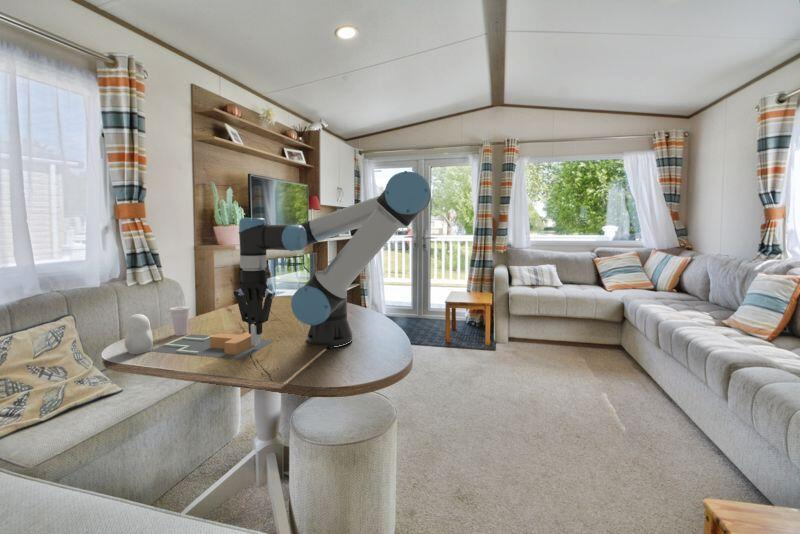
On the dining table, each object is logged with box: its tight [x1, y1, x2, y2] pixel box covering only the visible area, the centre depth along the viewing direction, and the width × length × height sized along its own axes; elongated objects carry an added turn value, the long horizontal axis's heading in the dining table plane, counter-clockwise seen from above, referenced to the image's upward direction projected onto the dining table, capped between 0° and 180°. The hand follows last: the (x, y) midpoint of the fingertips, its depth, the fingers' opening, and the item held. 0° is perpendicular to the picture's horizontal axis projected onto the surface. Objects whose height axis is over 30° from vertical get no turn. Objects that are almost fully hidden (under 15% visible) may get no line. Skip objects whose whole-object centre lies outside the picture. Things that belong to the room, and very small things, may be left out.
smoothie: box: [168, 295, 191, 337], centre depth 135 cm, size 6×6×14 cm
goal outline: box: [163, 334, 214, 354], centre depth 123 cm, size 15×16×1 cm
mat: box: [147, 333, 276, 360], centre depth 121 cm, size 32×18×1 cm, turn 79°
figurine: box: [124, 313, 154, 355], centre depth 118 cm, size 7×8×12 cm
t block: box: [210, 330, 253, 355], centre depth 120 cm, size 12×12×4 cm
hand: (255, 344), depth 118 cm, fingers closed
